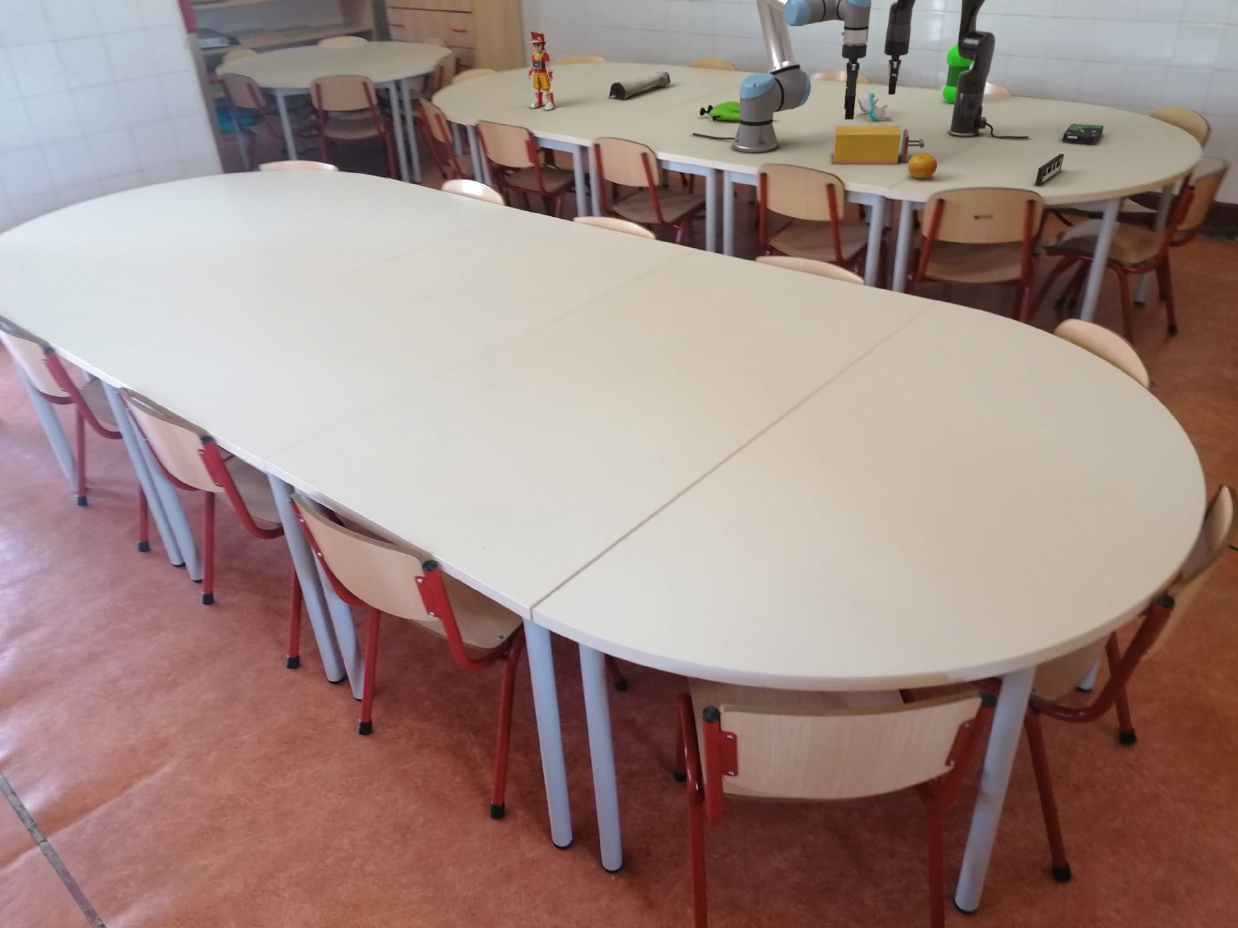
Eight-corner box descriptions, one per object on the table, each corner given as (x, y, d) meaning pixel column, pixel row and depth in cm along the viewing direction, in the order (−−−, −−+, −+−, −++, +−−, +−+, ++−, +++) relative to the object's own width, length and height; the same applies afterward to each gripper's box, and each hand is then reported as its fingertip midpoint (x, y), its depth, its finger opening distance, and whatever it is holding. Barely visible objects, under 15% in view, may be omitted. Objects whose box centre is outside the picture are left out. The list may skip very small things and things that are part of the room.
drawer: (920, 152, 300) (923, 129, 296) (923, 160, 293) (926, 137, 288) (846, 151, 305) (848, 129, 300) (846, 160, 297) (848, 137, 293)
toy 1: (525, 109, 381) (517, 32, 364) (534, 104, 388) (527, 28, 371) (550, 110, 377) (543, 32, 360) (559, 105, 384) (553, 28, 367)
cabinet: (895, 154, 303) (898, 126, 297) (897, 163, 294) (900, 134, 289) (833, 154, 306) (835, 126, 301) (833, 163, 298) (836, 134, 293)
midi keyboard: (1039, 185, 269) (1043, 168, 266) (1035, 184, 270) (1038, 168, 267) (1060, 170, 279) (1064, 154, 277) (1056, 169, 280) (1060, 153, 277)
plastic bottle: (973, 101, 354) (984, 32, 339) (955, 106, 349) (966, 36, 335) (952, 97, 361) (962, 29, 346) (934, 102, 356) (944, 33, 342)
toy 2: (690, 119, 348) (760, 132, 336) (691, 105, 346) (762, 118, 333) (721, 108, 369) (789, 120, 356) (723, 95, 366) (791, 106, 353)
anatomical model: (852, 90, 344) (878, 82, 343) (855, 117, 350) (880, 110, 349) (864, 99, 332) (891, 92, 331) (867, 127, 338) (893, 120, 337)
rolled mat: (651, 76, 408) (662, 61, 399) (662, 93, 408) (674, 79, 400) (605, 92, 391) (616, 77, 383) (617, 110, 391) (628, 95, 383)
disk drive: (1095, 145, 299) (1102, 133, 309) (1097, 137, 298) (1104, 125, 308) (1061, 142, 304) (1069, 130, 314) (1063, 134, 302) (1071, 122, 312)
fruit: (901, 168, 278) (918, 145, 275) (903, 171, 286) (919, 148, 282) (924, 184, 276) (941, 161, 273) (925, 186, 284) (942, 163, 281)
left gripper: (842, 36, 292) (836, 105, 304) (843, 51, 272) (837, 124, 284) (865, 36, 291) (859, 104, 303) (868, 51, 271) (861, 124, 283)
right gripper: (885, 34, 294) (880, 86, 303) (885, 42, 283) (879, 96, 292) (909, 34, 292) (903, 86, 301) (910, 42, 281) (903, 96, 290)
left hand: (848, 114), depth 293 cm, fingers open, 13 cm apart
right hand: (891, 91), depth 297 cm, fingers open, 8 cm apart
